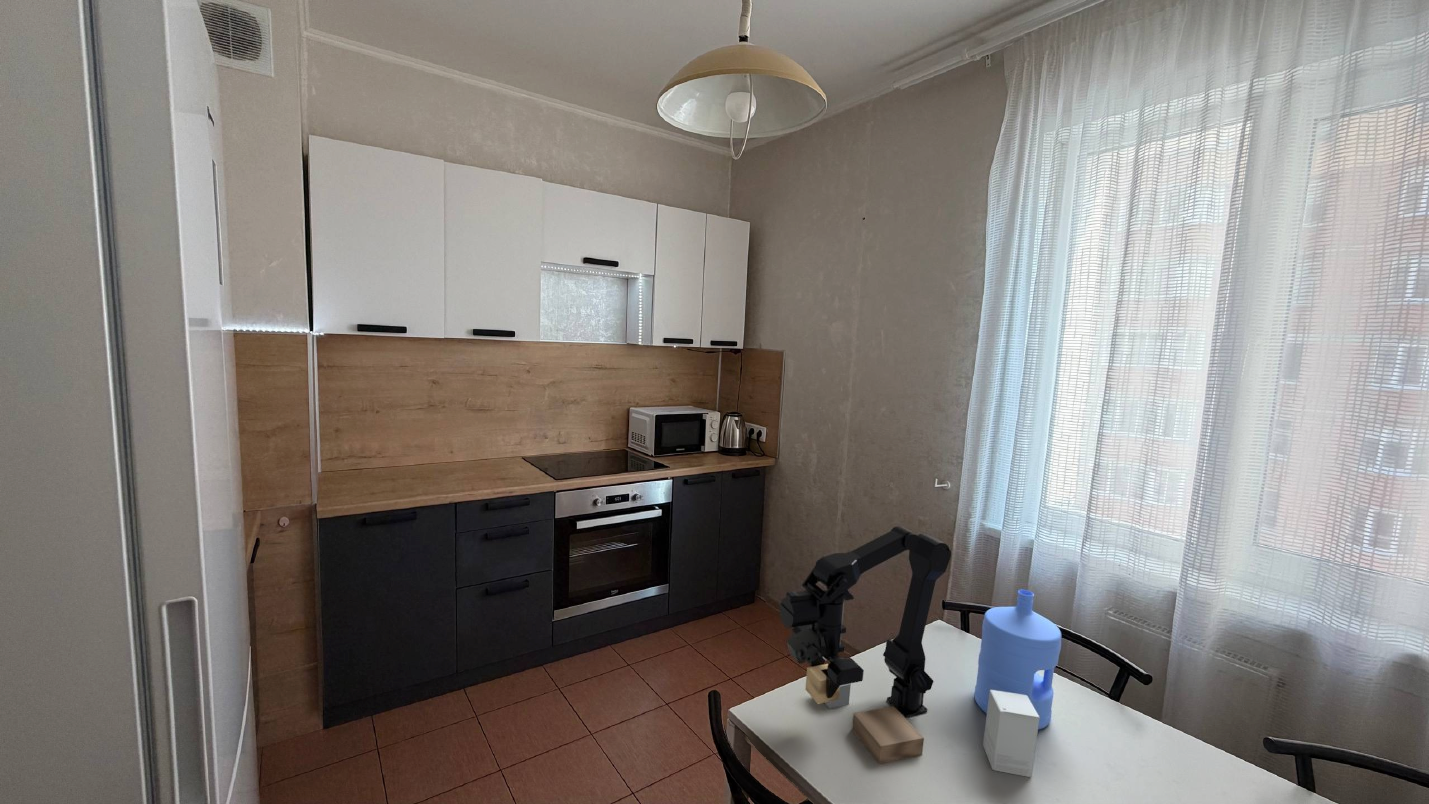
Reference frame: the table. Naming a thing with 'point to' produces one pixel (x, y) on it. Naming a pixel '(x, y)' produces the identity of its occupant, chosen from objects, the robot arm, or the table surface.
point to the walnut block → (887, 734)
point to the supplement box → (1011, 733)
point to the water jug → (1018, 655)
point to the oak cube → (818, 684)
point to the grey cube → (841, 697)
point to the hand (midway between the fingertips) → (822, 689)
